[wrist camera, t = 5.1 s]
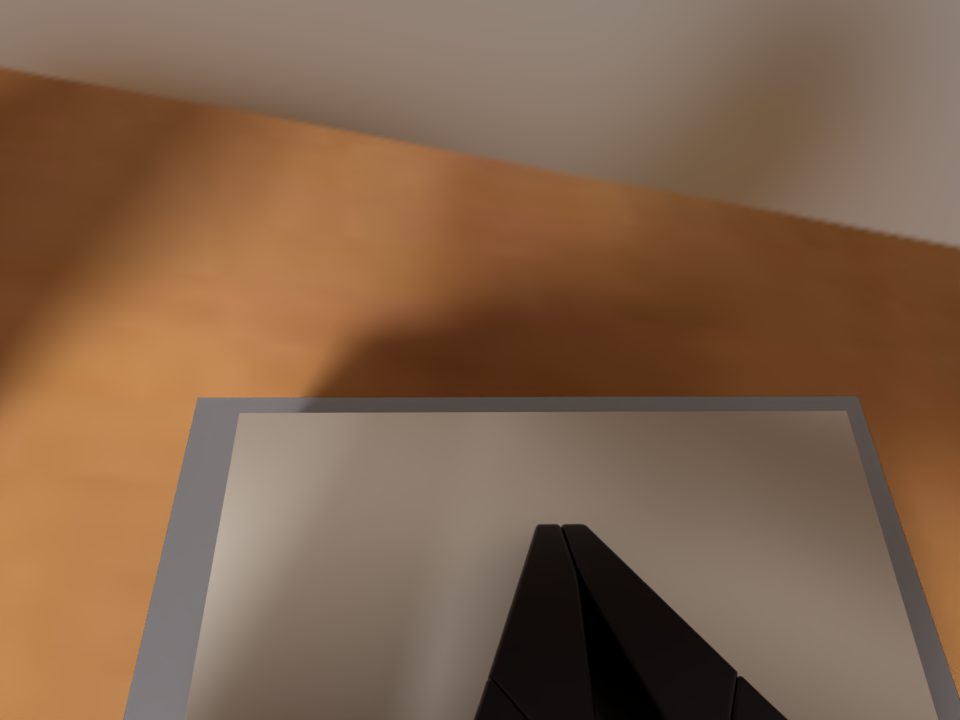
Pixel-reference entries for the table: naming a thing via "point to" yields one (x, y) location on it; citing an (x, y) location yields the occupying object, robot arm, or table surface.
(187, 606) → the floor block
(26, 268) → the table surface
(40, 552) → the table surface
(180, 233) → the table surface
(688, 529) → the silver rectangular slab
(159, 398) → the table surface
